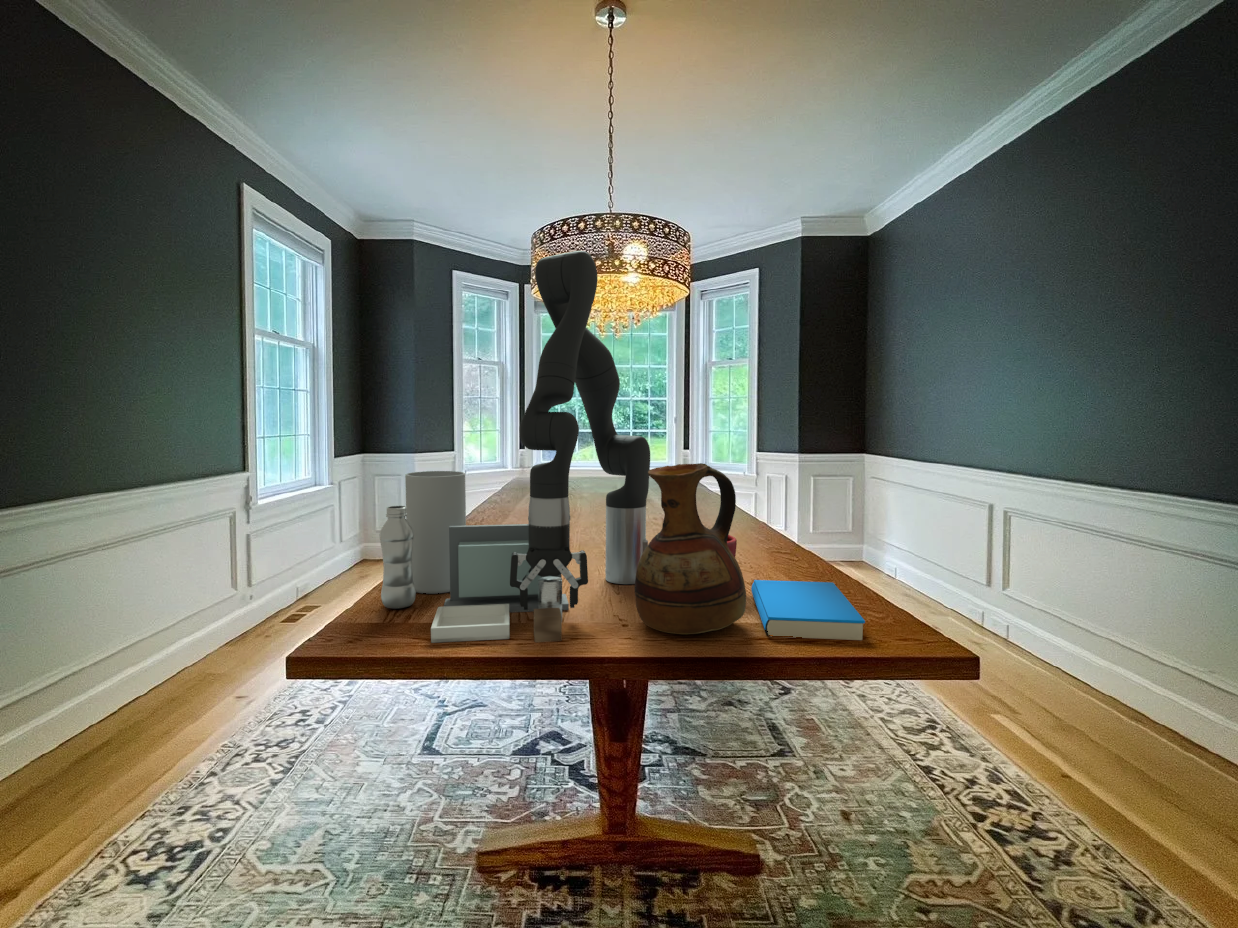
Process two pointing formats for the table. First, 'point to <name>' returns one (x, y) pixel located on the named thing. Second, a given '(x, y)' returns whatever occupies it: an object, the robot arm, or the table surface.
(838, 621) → the book
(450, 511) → the cylinder vase
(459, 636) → the tray
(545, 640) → the walnut block
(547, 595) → the steel cylinder
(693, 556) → the ceramic pitcher
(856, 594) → the table surface
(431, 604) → the table surface
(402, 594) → the plastic bottle
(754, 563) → the table surface
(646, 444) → the robot arm
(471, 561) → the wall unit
